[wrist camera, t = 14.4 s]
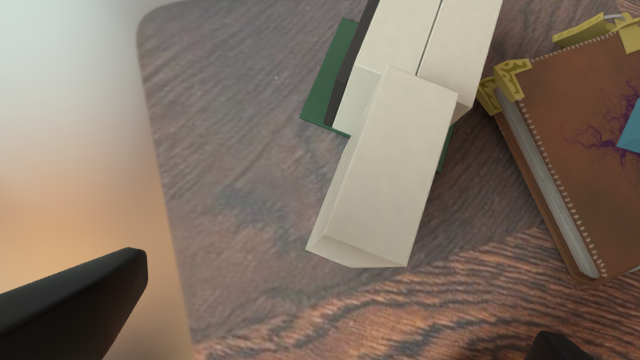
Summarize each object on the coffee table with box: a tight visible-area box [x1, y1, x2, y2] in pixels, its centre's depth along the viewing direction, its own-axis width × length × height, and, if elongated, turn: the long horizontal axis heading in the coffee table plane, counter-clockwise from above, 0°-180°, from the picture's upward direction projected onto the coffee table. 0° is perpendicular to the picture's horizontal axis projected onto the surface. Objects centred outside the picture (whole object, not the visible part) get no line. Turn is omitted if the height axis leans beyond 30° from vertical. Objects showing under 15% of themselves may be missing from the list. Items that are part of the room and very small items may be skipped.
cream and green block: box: [299, 0, 503, 174], centre depth 21 cm, size 8×10×8 cm
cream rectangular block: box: [306, 65, 459, 268], centre depth 17 cm, size 7×3×10 cm, turn 159°
